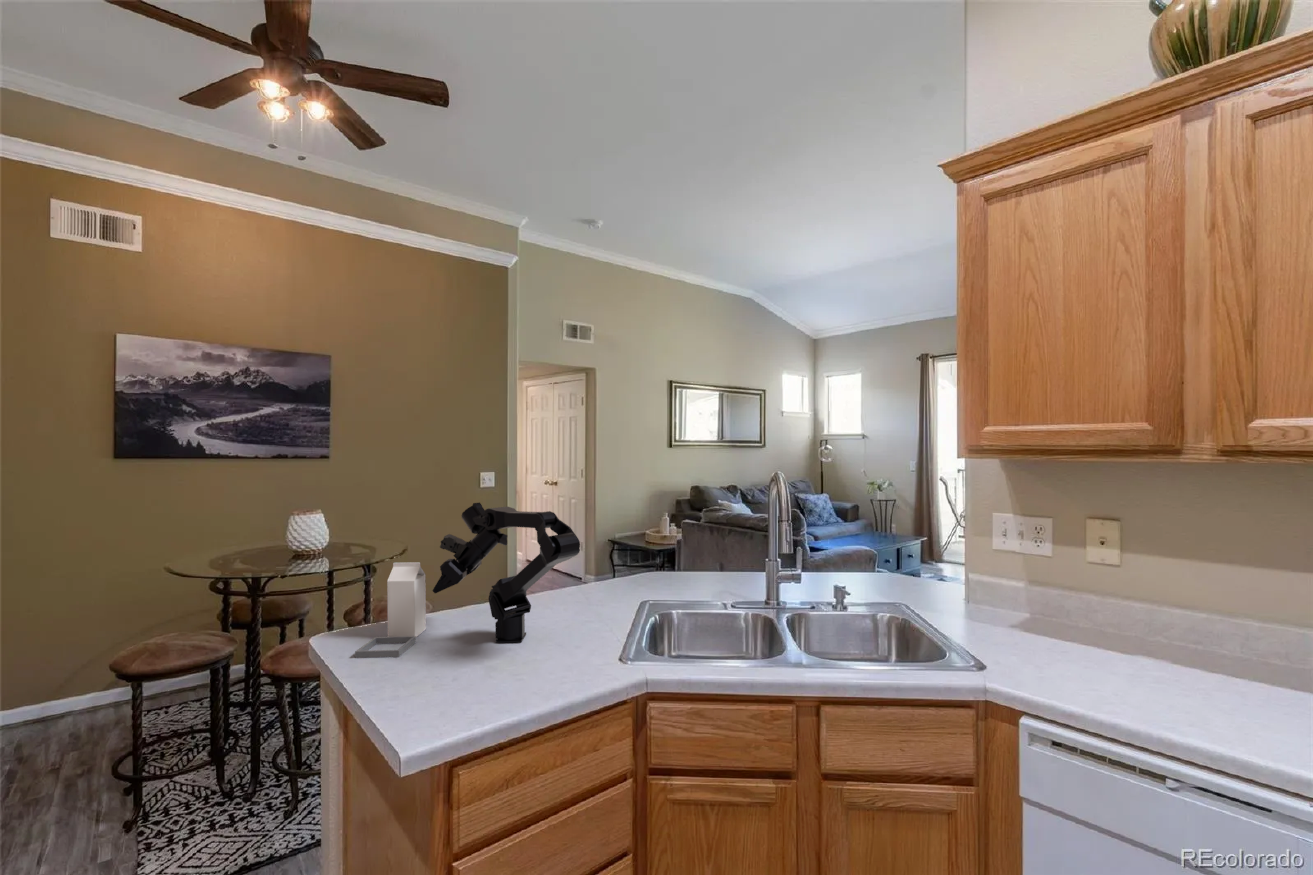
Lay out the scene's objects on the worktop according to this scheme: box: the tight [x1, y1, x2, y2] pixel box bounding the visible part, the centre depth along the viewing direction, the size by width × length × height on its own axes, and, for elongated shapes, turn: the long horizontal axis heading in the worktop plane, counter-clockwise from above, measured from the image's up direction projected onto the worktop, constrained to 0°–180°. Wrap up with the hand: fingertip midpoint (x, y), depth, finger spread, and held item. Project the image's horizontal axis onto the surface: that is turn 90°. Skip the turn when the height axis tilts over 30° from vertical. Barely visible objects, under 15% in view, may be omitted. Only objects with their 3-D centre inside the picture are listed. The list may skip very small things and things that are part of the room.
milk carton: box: [386, 561, 427, 638], centre depth 153 cm, size 7×7×19 cm
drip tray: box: [354, 636, 417, 659], centre depth 141 cm, size 10×10×2 cm
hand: (439, 587), depth 154 cm, fingers open, 9 cm apart
